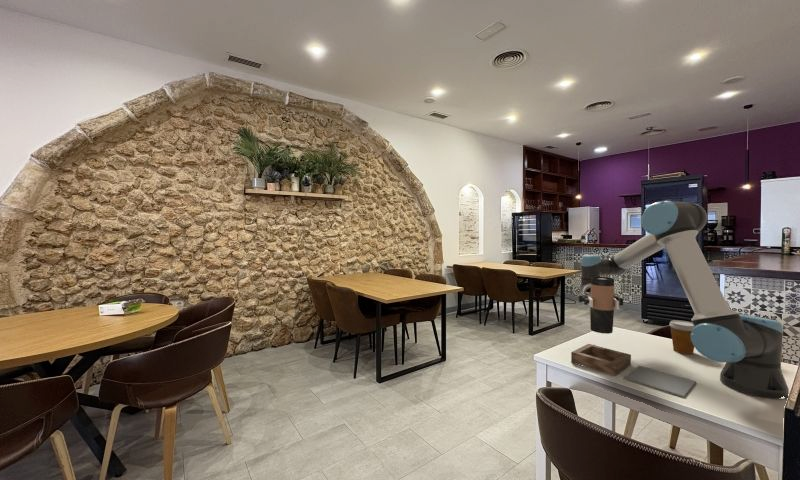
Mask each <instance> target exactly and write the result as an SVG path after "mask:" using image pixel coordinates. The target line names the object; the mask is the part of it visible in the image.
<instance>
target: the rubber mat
mask: <svg viewBox="0 0 800 480" xmlns="http://www.w3.org/2000/svg"><path fill="white" fill-rule="evenodd" d="M622 379H623V380H625V381H628V382H632V383H635V384H637V385H640V386H644V387H647V388H651V389H654V390H656V391H659V392H664V393H667V394H669V395H673V396H677V397H680V398H683V399H685V397H686V396H687V395H688V393H690V391H691V390H692V389H693V387H695V385H696V384H697V380H694V379H690V378H686V377H683V376H679V375H676V374H671V373H668V372H664V371H661V370H657V369H655V368H650V367H646V366H643V365H638V366H636V367H635V368H634V369H633V370H631V371H629V372H628V373H627V374H626V375H625V376H623V378H622Z"/></svg>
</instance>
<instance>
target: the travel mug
mask: <svg viewBox="0 0 800 480" xmlns="http://www.w3.org/2000/svg"><path fill="white" fill-rule="evenodd" d="M614 294H615V278H613V277H606V276H600V277H594V278H591V298H592V299H593V307H590V306H589V307H590V308H589V309H590V310H589V314H590V315H589V316H590V319H589V320H590V330H591V331H592V332H594V333H598V334H603V335H604V334H605V335H606V334H607V335H609V334H613V332H614V330H613V329H614V315H615V307H614Z"/></svg>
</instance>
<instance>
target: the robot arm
mask: <svg viewBox="0 0 800 480" xmlns="http://www.w3.org/2000/svg"><path fill="white" fill-rule="evenodd" d="M640 222H641V227H642V229H643V230H644V231H645V232H647V234H646V235H645V236H643V237H641V238H640V239H638V240H637V241H636V240H635V242H633V243H632V244H630V245H629V246H627V247H625V248H624V249H622V250H620V251H619V252H617V253H616V254H614V255H612V256H611V257H609V258H601V256H600V255H597V254H584V255H582V256H581V262H580V269H581V270H580V274H581V275H580V276H581V277H580V285H579V291H577V298H578V303H583V304H584V305H585V306H587V305H588V306H589V307H593V299H592V298H591V278H594V277H602V276H619V275H624V274H626V273H627V271H628V269H629V268H631V267H632V266H634V265H636V264H638V263H639V262H641V261H642V260H644V259H646V258H648V257H650V256H652V255H654V254H655V253H657V252H659V251H661V250H663V249H665V250H666V253H667V254H668V257H669V259H670V261H671V264H672V266H673V269H674V271H675V273H676V276H677V277H678V279H679V282H680V284H681V286H682V288H683V291H684V293H685V295H686V297H687V300H688V302H689V304H690V306H691V308H692V311H693V313H694V315H693V317H692V318H691V321H690V322H692V323H693V325H694V328H693V330H692V333H691V341H692V344H693V345H694V349H695V350H696V351H697V352H698V353H699V354H701V355H702V357H704V358H707V359H708V360H710V361H713V362H717V363H725V364H724V366H723V367H722V369H721V371H720V374H719V381H720V382H721V383H722V384H723V385H725V386H726V387H728V388H730V389H733V390H735V391H738V392H741V393H744V394H746V395H747V394H748V395H750V396H755V397H759V398H763V399H764V398H765V399H770V400H771V399H772V400H773V399H774V400H780V399H779V398H781V397H783V396H784V397H785V399H787V397H788V398H789V396H788V394H789V393H790V391H789V386H788V385H787V381H786V379H785V377H784V374H783V372H782V350H783V335H784V331H783V324H782V323H781V322H780V321H778V320H774V319H772V318H771V319H770V318H765V317H761V316H756V315H748V314H742V313H739V312H737V311H735V310H733V309H731V307H730V308H729V307H728V305H727V303H726V301H727V300H726V299H725V297H724V295H723V292H722V291H721V288H720V286H719V284H718V282H717V280H716V279H715V276H714V274H713V272H712V270H711V268H710V266H709V264H708V262H707V259H706V258H705V255H704V254H703V252H702V249H701V248H700V245H699V243H698V241H697V240H696V237H697V235H698V234H699V232H700V231H701V230H702V229H704V227H705V226H706V224H707V222H708V213H707V212H706V210H705V209H704V207H702V206H701V205H700V204H698V203H695V202H691V201H671V200H664V201H656V202H654V203H652V204H650V205H649V206H647V207H646V208H645V209H644V211H643V214H642V216H641V220H640ZM725 300H726V301H725ZM584 305H583V306H584ZM621 306H624V298H623V297H621V296H619V295H617V294H615V293H614V309H616V310H620V307H621ZM789 395H790V394H789Z"/></svg>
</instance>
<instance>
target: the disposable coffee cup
mask: <svg viewBox="0 0 800 480" xmlns="http://www.w3.org/2000/svg"><path fill="white" fill-rule="evenodd" d="M668 325H669V326H670V334H671V339H672V349H673V352H676V353H679V354H683V355H693V354H694V351H695V347H694V345H693V344H692V341H691V333H692V330H693V328H694V325H693V323H692V321H688V320H687V321H686V320H678V319H677V320H675V319H673V320H670V322H669V324H668Z"/></svg>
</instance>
